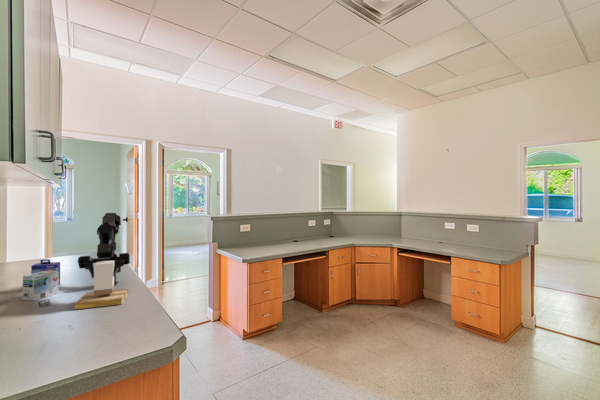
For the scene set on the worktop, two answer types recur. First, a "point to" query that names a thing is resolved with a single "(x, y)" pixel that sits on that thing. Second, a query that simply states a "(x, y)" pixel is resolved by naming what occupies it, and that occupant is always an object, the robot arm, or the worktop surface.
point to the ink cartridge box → (46, 267)
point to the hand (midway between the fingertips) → (103, 276)
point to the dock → (101, 299)
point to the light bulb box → (40, 285)
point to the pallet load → (104, 277)
